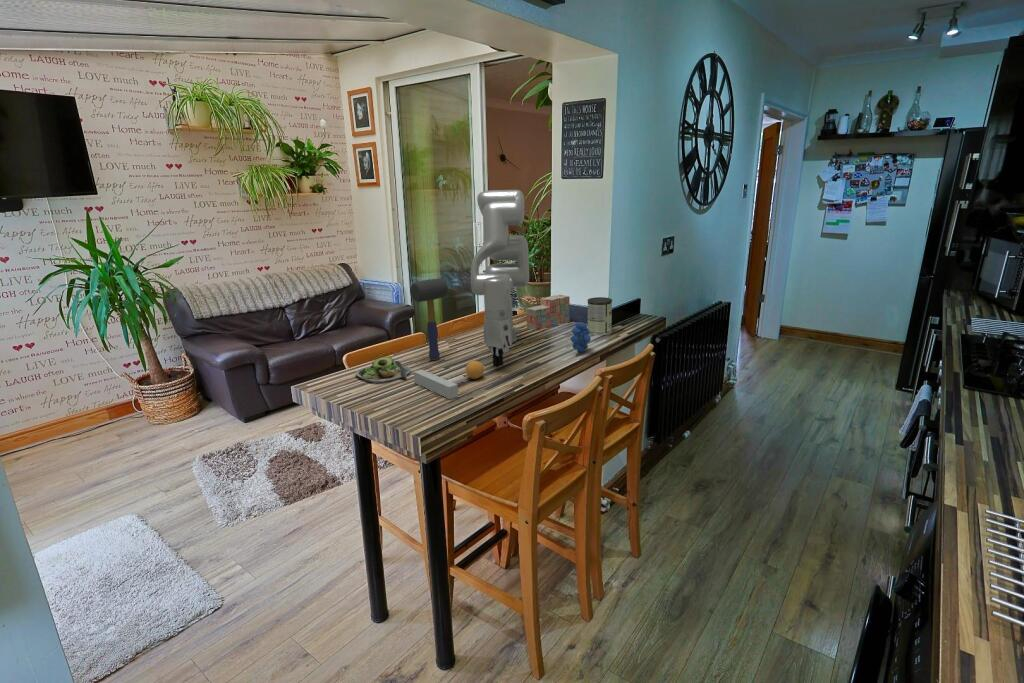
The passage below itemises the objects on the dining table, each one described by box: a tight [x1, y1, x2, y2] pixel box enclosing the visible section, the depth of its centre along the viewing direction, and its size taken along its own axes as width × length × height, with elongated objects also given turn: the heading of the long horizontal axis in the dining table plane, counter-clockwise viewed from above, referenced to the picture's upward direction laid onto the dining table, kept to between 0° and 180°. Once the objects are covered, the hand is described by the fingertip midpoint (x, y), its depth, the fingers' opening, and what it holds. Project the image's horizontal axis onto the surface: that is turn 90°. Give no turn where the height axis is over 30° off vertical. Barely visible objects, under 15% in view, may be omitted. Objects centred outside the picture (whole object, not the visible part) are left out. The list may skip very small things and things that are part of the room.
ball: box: [465, 360, 485, 380], centre depth 173 cm, size 6×6×6 cm
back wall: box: [413, 369, 459, 400], centre depth 165 cm, size 3×20×4 cm, turn 42°
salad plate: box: [355, 355, 412, 384], centre depth 180 cm, size 19×18×5 cm
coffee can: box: [587, 296, 613, 336], centre depth 222 cm, size 10×10×14 cm
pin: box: [447, 375, 466, 385], centre depth 169 cm, size 2×2×8 cm
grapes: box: [570, 321, 591, 354], centre depth 195 cm, size 12×7×12 cm, turn 141°
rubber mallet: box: [409, 278, 449, 361], centre depth 191 cm, size 12×8×30 cm, turn 133°
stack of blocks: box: [526, 294, 571, 331], centre depth 237 cm, size 21×6×12 cm, turn 131°
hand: (498, 365), depth 182 cm, fingers closed
